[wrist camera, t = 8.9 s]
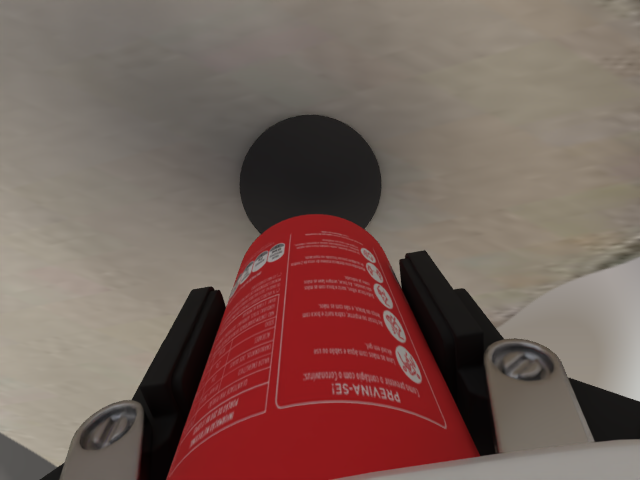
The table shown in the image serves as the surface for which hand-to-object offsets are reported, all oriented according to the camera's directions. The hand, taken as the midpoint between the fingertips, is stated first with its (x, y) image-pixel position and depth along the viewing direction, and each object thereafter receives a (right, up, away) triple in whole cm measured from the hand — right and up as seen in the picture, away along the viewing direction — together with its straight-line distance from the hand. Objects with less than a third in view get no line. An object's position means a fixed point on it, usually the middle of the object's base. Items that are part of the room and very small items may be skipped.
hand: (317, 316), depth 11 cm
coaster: (-1, +6, +13) cm, 15 cm away
